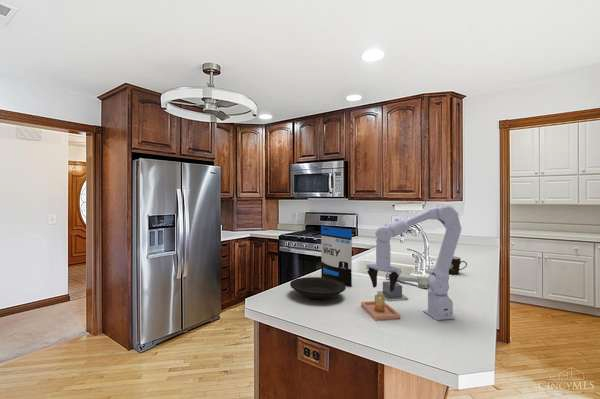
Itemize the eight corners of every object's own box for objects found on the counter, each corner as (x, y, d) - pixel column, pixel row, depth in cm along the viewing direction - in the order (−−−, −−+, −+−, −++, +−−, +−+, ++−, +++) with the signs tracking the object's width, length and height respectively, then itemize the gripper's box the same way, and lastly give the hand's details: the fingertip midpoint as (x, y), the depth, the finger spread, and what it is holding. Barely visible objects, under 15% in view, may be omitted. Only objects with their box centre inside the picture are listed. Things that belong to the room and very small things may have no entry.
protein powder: (327, 276, 185) (327, 225, 184) (357, 285, 165) (357, 229, 165) (315, 278, 179) (314, 226, 179) (345, 288, 160) (345, 230, 159)
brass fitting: (386, 310, 128) (386, 296, 128) (381, 313, 125) (381, 298, 125) (377, 308, 130) (377, 293, 130) (372, 310, 128) (372, 296, 127)
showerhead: (435, 266, 178) (447, 270, 169) (434, 278, 178) (447, 283, 169) (420, 267, 176) (432, 271, 166) (420, 279, 176) (432, 284, 166)
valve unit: (408, 299, 142) (408, 286, 142) (387, 301, 141) (387, 288, 141) (395, 291, 155) (395, 279, 154) (376, 292, 153) (376, 280, 153)
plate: (279, 295, 150) (279, 283, 149) (312, 285, 166) (312, 274, 166) (323, 310, 130) (323, 297, 130) (356, 297, 147) (356, 285, 147)
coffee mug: (441, 272, 192) (441, 256, 192) (452, 271, 194) (453, 255, 194) (456, 277, 181) (456, 260, 180) (468, 276, 183) (468, 259, 183)
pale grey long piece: (390, 271, 180) (430, 274, 161) (391, 283, 180) (432, 287, 160) (384, 273, 177) (425, 275, 158) (386, 284, 176) (427, 289, 157)
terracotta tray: (400, 319, 120) (400, 314, 120) (375, 320, 119) (375, 316, 119) (382, 304, 136) (382, 300, 136) (361, 306, 135) (361, 301, 135)
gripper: (404, 256, 127) (404, 289, 127) (371, 252, 136) (371, 283, 136) (397, 259, 121) (397, 294, 122) (363, 254, 131) (364, 287, 131)
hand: (383, 288), depth 129 cm, fingers open, 7 cm apart
